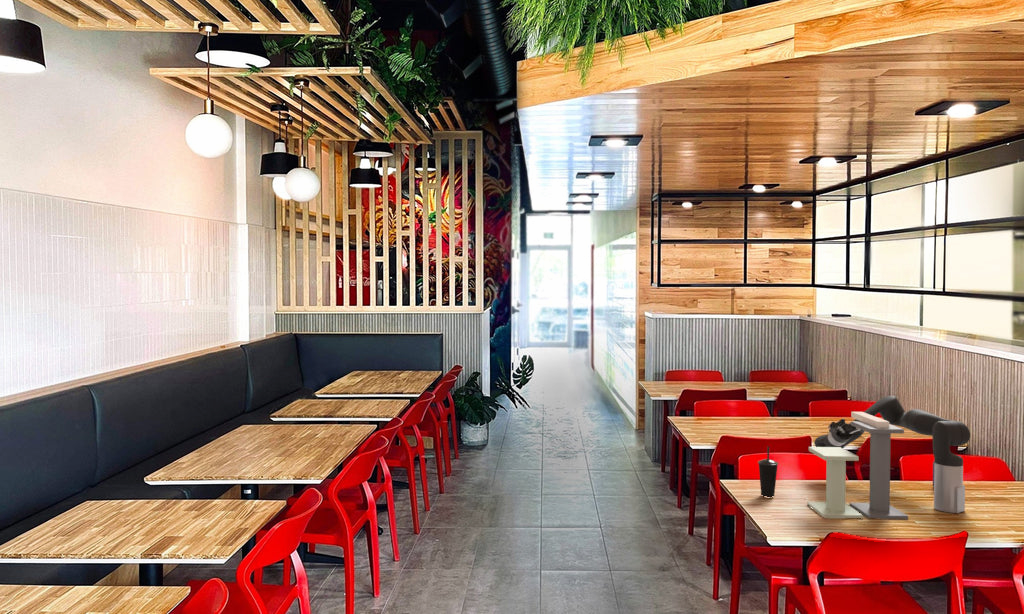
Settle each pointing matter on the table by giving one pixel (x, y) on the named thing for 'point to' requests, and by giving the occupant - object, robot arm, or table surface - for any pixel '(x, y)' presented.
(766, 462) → the drinking cup
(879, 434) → the high shelf
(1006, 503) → the table surface
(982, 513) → the table surface
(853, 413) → the pale pink beam
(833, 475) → the low shelf
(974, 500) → the table surface
